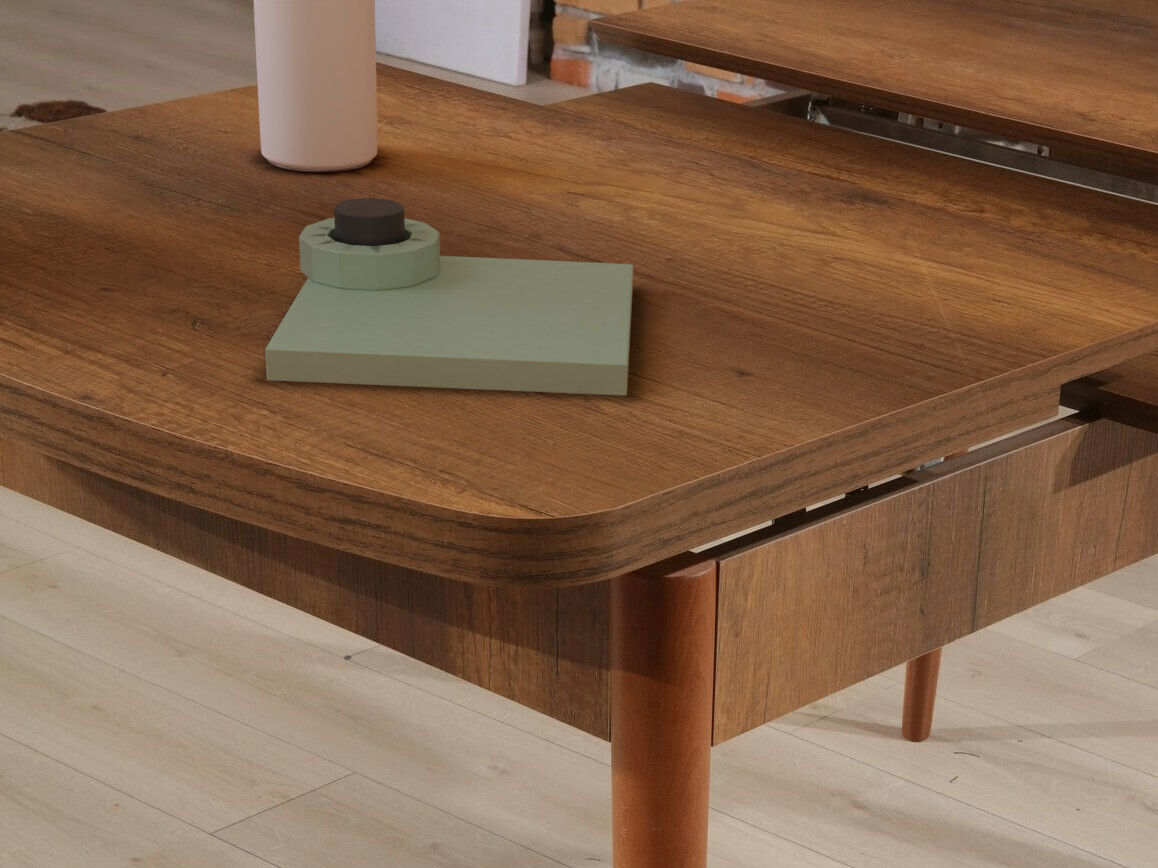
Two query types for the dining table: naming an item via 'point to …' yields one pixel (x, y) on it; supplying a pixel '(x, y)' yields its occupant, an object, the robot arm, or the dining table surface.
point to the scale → (452, 319)
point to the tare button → (369, 222)
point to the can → (316, 83)
